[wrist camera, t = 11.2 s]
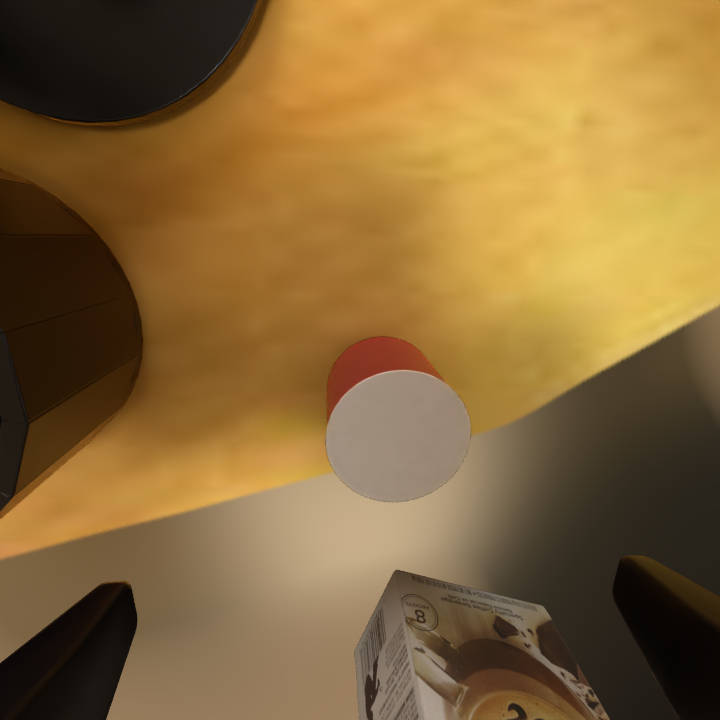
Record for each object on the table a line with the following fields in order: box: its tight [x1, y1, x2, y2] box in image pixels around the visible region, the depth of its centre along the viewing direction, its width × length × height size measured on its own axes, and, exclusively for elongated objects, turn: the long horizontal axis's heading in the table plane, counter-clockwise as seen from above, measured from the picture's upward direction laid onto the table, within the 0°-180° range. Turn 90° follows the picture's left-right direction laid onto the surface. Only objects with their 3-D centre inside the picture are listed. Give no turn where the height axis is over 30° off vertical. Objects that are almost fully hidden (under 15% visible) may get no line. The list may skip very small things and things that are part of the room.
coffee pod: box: [325, 337, 471, 502], centre depth 15 cm, size 5×5×4 cm
